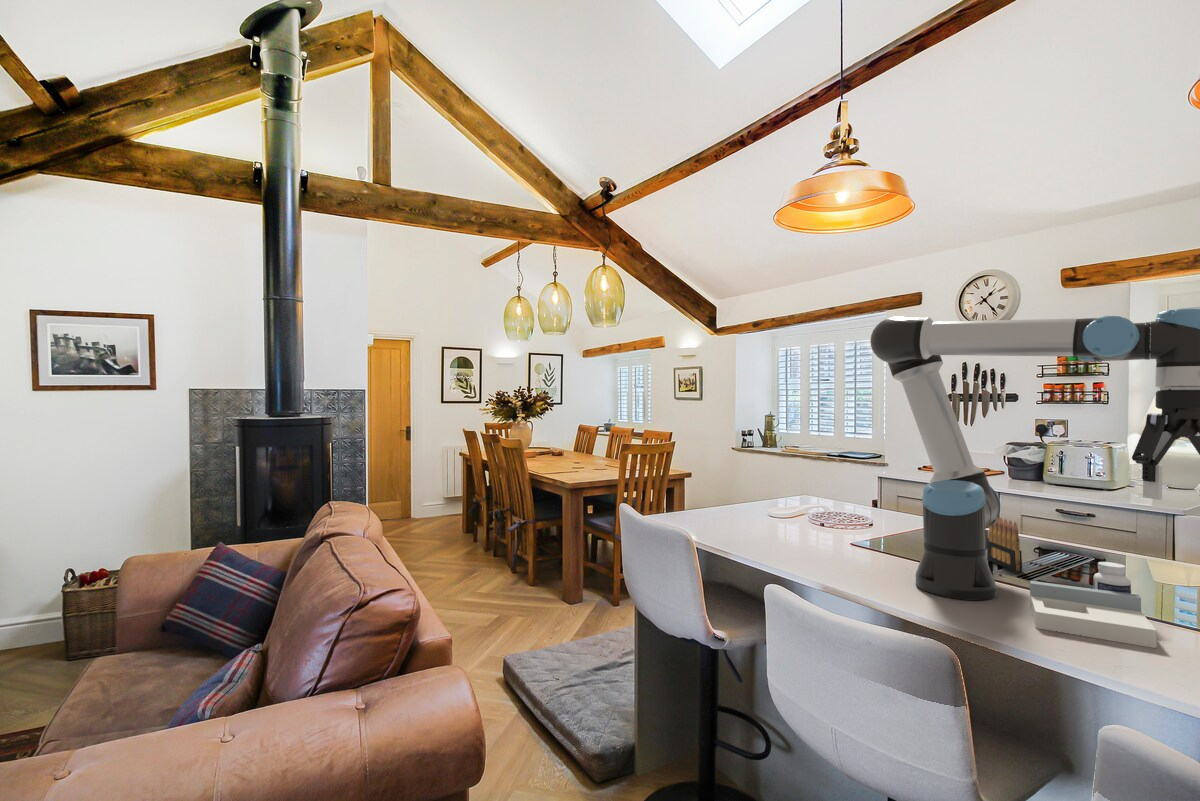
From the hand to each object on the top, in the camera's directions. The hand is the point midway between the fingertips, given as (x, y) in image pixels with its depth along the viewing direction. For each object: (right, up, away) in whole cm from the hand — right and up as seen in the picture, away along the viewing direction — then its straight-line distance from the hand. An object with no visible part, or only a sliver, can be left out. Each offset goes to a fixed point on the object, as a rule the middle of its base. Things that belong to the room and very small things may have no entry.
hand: (1181, 498), depth 109 cm
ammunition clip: (-11, -23, +33) cm, 42 cm away
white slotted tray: (-23, -23, -6) cm, 33 cm away
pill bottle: (-14, -23, 0) cm, 27 cm away
